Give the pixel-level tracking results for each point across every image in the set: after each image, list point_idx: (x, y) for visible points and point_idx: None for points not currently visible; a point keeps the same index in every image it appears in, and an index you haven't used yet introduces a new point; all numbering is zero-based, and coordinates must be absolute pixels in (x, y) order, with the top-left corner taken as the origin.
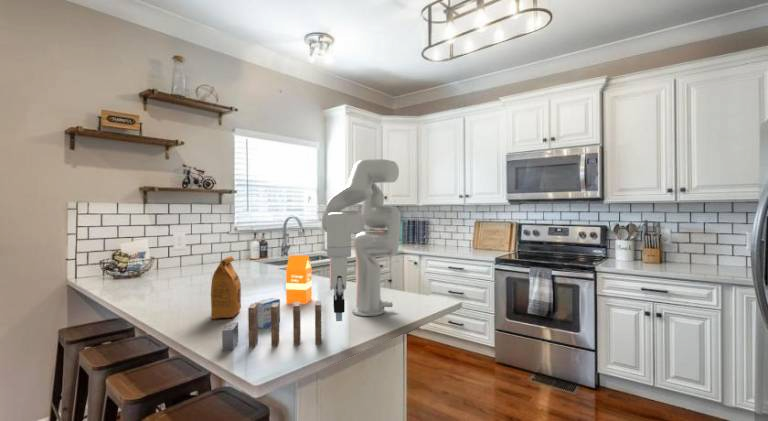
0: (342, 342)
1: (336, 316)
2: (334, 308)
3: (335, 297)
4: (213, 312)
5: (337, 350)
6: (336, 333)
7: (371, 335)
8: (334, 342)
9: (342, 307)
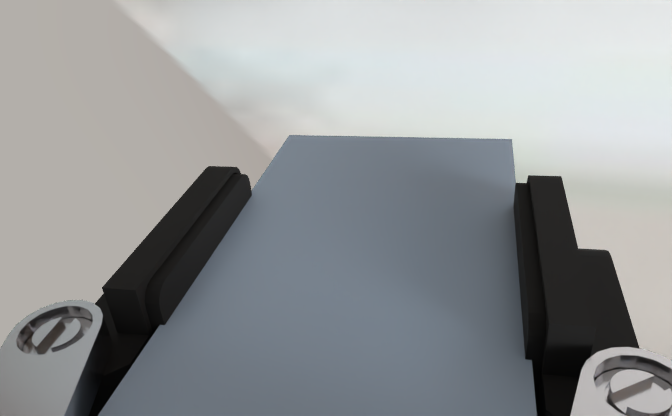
0: (370, 107)
1: (271, 166)
2: (183, 201)
3: (6, 353)
4: None
5: (196, 59)
6: (646, 60)
7: None
8: (378, 35)
9: None
